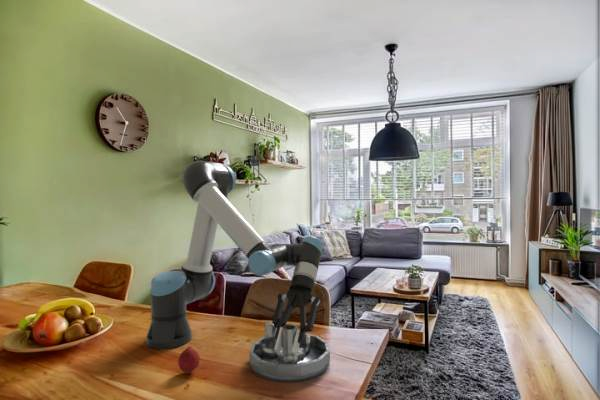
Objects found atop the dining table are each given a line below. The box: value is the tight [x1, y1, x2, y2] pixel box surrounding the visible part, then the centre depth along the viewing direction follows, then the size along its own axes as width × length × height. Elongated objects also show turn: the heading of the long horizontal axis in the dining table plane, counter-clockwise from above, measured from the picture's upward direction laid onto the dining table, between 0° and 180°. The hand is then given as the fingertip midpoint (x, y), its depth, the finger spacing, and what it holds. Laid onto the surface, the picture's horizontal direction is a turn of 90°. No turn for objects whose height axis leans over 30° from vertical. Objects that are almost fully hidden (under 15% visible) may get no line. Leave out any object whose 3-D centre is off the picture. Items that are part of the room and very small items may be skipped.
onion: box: [177, 344, 200, 374], centre depth 103 cm, size 6×6×8 cm
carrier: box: [249, 321, 331, 383], centre depth 109 cm, size 24×24×10 cm
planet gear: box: [277, 324, 304, 364], centre depth 103 cm, size 8×8×9 cm
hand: (285, 352), depth 99 cm, fingers closed on planet gear, 4 cm apart
